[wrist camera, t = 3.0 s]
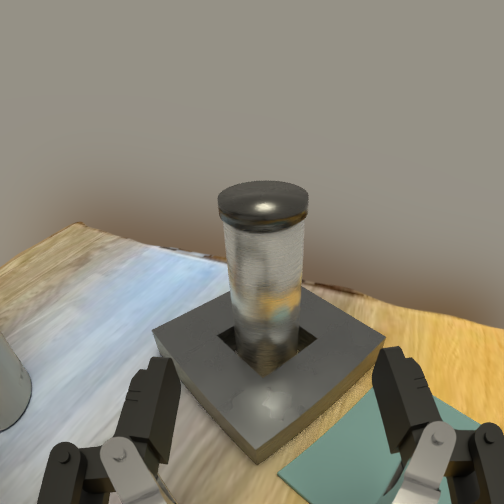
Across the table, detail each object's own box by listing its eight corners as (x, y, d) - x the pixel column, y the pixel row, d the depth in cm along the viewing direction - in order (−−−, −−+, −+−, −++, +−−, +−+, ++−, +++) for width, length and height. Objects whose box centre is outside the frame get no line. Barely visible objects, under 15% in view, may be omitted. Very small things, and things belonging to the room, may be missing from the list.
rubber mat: (414, 576, 9) (417, 576, 8) (277, 474, 17) (277, 472, 17) (501, 441, 15) (504, 438, 15) (388, 371, 24) (389, 368, 24)
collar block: (257, 465, 18) (255, 449, 17) (159, 352, 28) (151, 330, 26) (378, 360, 26) (386, 337, 24) (272, 291, 35) (272, 268, 33)
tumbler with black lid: (264, 397, 23) (257, 222, 16) (223, 359, 27) (200, 195, 19) (311, 361, 26) (327, 195, 18) (269, 330, 30) (266, 175, 22)
